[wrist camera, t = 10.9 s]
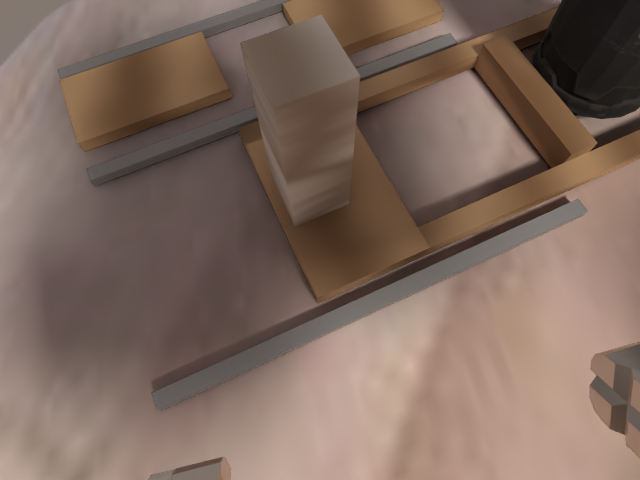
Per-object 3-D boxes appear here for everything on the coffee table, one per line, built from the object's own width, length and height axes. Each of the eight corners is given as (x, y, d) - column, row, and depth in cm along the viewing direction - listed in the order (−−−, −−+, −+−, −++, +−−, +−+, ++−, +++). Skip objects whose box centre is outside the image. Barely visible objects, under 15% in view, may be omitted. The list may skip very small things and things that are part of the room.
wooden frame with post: (612, -4, 29) (743, -202, 20) (733, 116, 25) (963, -61, 16) (241, 138, 26) (190, -24, 16) (317, 303, 22) (308, 213, 12)
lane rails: (390, -36, 31) (391, -44, 31) (581, 216, 23) (587, 211, 23) (62, 76, 28) (57, 69, 27) (161, 410, 20) (156, 410, 20)
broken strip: (404, -28, 31) (405, -39, 30) (441, 20, 29) (444, 9, 28) (66, 89, 27) (59, 80, 27) (84, 151, 26) (77, 143, 25)
